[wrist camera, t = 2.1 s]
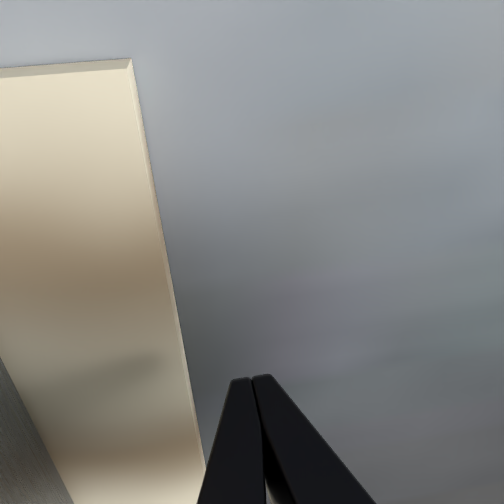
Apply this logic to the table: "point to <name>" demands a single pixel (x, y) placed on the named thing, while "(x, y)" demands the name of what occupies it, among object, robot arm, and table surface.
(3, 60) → the table surface
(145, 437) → the dial board
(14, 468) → the grey long bar
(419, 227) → the table surface
